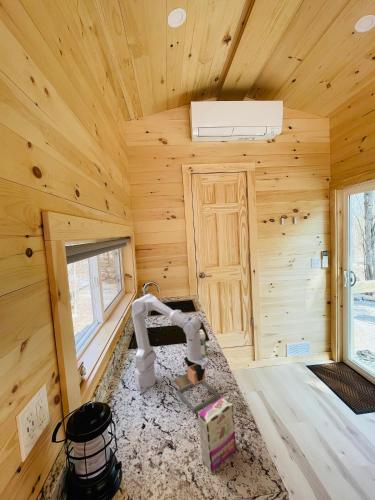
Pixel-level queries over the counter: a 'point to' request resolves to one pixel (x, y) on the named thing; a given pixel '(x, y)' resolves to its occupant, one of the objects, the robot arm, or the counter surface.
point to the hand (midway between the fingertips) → (196, 376)
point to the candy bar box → (217, 433)
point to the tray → (202, 402)
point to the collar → (193, 375)
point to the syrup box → (203, 342)
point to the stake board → (182, 380)
